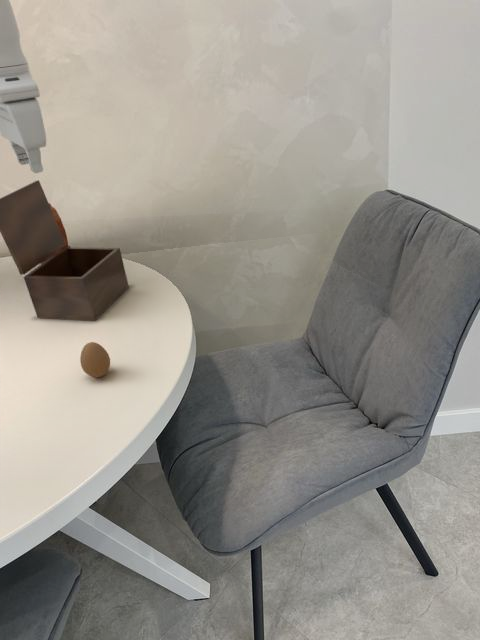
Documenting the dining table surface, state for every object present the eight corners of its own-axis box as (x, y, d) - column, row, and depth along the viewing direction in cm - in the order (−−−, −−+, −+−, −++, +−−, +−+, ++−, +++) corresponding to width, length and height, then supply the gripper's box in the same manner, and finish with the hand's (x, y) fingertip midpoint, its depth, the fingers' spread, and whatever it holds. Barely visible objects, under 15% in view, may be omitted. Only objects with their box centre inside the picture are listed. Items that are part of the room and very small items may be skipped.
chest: (129, 287, 115) (119, 247, 110) (94, 321, 103) (82, 278, 99) (76, 285, 118) (65, 247, 114) (37, 318, 107) (23, 276, 102)
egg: (85, 371, 89) (75, 339, 86) (113, 364, 90) (104, 333, 86) (85, 386, 85) (75, 353, 82) (114, 379, 86) (105, 347, 83)
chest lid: (39, 180, 107) (35, 180, 107) (-10, 203, 95) (-14, 204, 95) (66, 244, 113) (63, 245, 114) (24, 274, 102) (20, 274, 102)
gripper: (-25, 84, 100) (0, 162, 107) (-1, 91, 85) (27, 181, 92) (11, 80, 102) (33, 156, 110) (40, 85, 88) (64, 173, 95)
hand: (30, 167), depth 101 cm, fingers open, 8 cm apart
